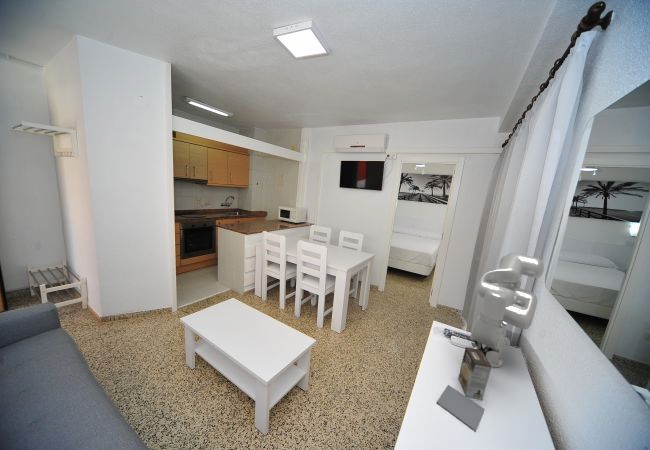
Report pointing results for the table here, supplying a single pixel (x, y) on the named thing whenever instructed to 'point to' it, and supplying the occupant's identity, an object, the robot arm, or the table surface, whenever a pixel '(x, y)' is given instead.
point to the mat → (461, 407)
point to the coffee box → (474, 373)
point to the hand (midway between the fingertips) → (480, 357)
